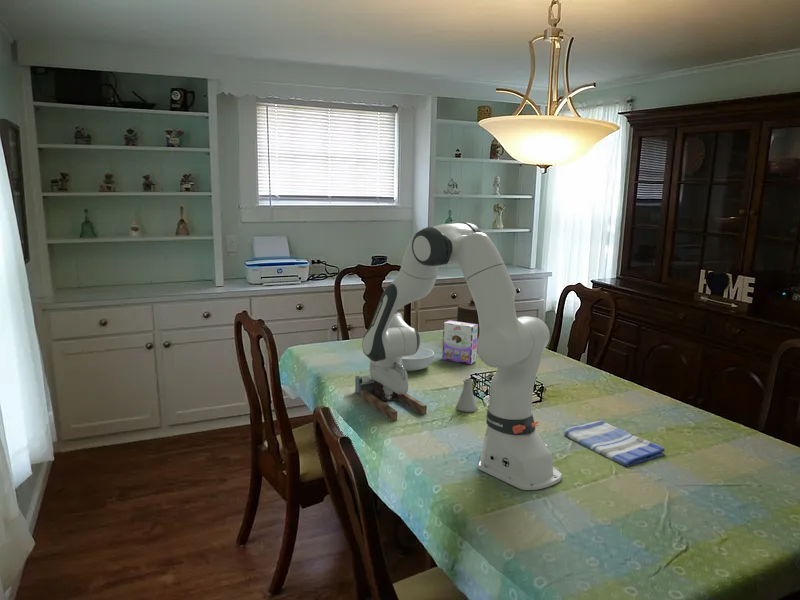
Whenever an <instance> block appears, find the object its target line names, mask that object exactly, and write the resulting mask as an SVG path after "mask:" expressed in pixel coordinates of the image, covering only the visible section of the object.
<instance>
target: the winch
mask: <svg viewBox="0 0 800 600" xmlns="http://www.w3.org/2000/svg"><path fill="white" fill-rule="evenodd" d="M354 380H355V382H354V383H355V386H354V387H355V388H354V389H355V390H354V392H355V394H357V395H358V396H359V384H360V383H366V382H372V381H374V380H373V379H372V378H371V376H370V374H368V375H362V376H359V375H356V376H355V378H354Z"/></svg>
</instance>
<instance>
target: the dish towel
mask: <svg viewBox="0 0 800 600" xmlns="http://www.w3.org/2000/svg"><path fill="white" fill-rule="evenodd" d="M563 435H564V436H565V437H567V438H569V439H571V440H573V442H576V443H578V444H580V445H581V446H583V447H585V448H587V449H589V450H591V451H594V452H596V453H597V454H599V455H602V456H603V457H606V458H608V459H610V460H612V461H613V462H616V463H618V464H620V465H622V466H625V467H630V466H633V465H635V464H636V465H637V464H640V463H643V462H647V461H650V460H652V459H656V458H659V457H662V456H665V455H666V454H665V453H664V452H665V448H664V447H663V446H661V445H660V444H657V443H655V442H652V441H649V440H647V439H645V438H643V437H639V436H635V435H633V434H631V433H630V432H628V431H626V430H624V429H621V428H619V427H616V426H613V425H611V424H609V423H607V422H606V421H605V420H603V419H601V420H598V421H592V422H588V423H584V424H582V425H574V426H571V427H568V428H567V429H565V430H564V431H563Z"/></svg>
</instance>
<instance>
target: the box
mask: <svg viewBox="0 0 800 600" xmlns="http://www.w3.org/2000/svg"><path fill="white" fill-rule="evenodd" d="M374 396H375V397H377V398H378V399H380V400H381V401H383V402H390V401H395V400H397V399H396V393H395V392H394V391H393V393H392V398H391V399H389V400H388V399H386V398H385V392H384V389H383V385H382V384H381V383H379V382H377V381H375V380H374Z"/></svg>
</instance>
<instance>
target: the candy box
mask: <svg viewBox="0 0 800 600" xmlns="http://www.w3.org/2000/svg"><path fill="white" fill-rule="evenodd" d="M442 324H443V328H442V329H443V332H442V360H445V361H449V362H455V363H461V364H466V365H472V364H474V363H476V362H477V355H478V353H477V332H478V325H477V324H470V323H464V322H457V320H449V319H448V320H447V321H445V322H443V323H442Z"/></svg>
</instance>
